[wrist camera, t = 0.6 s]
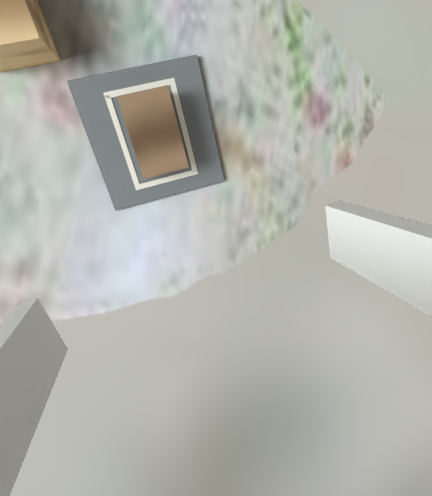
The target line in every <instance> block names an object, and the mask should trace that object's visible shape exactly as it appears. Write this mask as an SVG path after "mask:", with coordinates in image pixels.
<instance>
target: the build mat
mask: <svg viewBox="0 0 432 496" xmlns="http://www.w3.org/2000/svg"><path fill="white" fill-rule="evenodd" d="M67 83H68V85H69V88H70V91H71V93H72V96H73V99H74V101H75V104H76V107H77V109H78V112H79V115H80V117H81V120H82V123H83V125H84V128H85V131H86V133H87V136H88V139H89V141H90V144H91V147H92V149H93V152H94V155H95V157H96V160H97V163H98V165H99V168H100V170H101V173H102V176H103V178H104V181H105V184H106V186H107V189H108V192H109V194H110V197H111V200H112V202H113V205H114V208H115V210H120V209H124V208H127V207H131V206H135V205H138V204H142V203H146V202H149V201H153V200H157V199H160V198H164V197H168V196H171V195H175V194H179V193H182V192H186V191H190V190H193V189H197V188H201V187H204V186H208V185H212V184H215V183H219V182H223V181H224V177H223V173H222V168H221V163H220V159H219V154H218V149H217V145H216V140H215V136H214V131H213V126H212V122H211V117H210V112H209V108H208V103H207V99H206V94H205V89H204V85H203V80H202V75H201V71H200V66H199V62H198V57H197V55H193V56H188V57H183V58H178V59H173V60H168V61H163V62H158V63H153V64H148V65H143V66H138V67H133V68H129V69H124V70H119V71H114V72H109V73H104V74H99V75H94V76H89V77H84V78H79V79H74V80H69V81H67ZM166 85H168V89H169V93H170V97H171V100H172V104H173V108H174V112H175V116H176V120H177V124H178V127H179V131H180V135H181V139H182V143H183V147H184V151H185V155H186V158H187V162H188V166H189V168H185V169H181V170H177V171H173V172H170V173H166V174H162V175H158V176H154V177H150V178H147V179H143V176H142V173H141V170H140V166H139V163H138V160H137V157H136V154H135V151H134V148H133V145H132V142H131V139H130V135H129V132H128V129H127V126H126V123H125V120H124V117H123V114H122V111H121V108H120V104H119V101H118V98H117V96H119V95H124V94H129V93H133V92H138V91H143V90H147V89H152V88H156V87H161V86H166Z"/></svg>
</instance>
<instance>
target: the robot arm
mask: <svg viewBox="0 0 432 496" xmlns="http://www.w3.org/2000/svg"><path fill="white" fill-rule="evenodd" d="M325 207H326V218H327V229H328V239H329V250H330V258H332V259H334V260H335V261H337V262H339V263H341V264H342V265H344V266H346V267H348V268H349V269H351V270H352V271H354V272H356V273H358V274H359V275H361V276H363V277H364V278H366V279H368V280H370V281H371V282H373V283H375V284H376V285H378V286H380V287H382V288H383V289H385V290H387V291H388V292H390V293H392V294H393V295H395V296H397V297H399V298H400V299H402V300H404V301H405V302H407V303H409V304H411V305H412V306H414V307H416V308H418V309H419V310H421V311H423V312H424V313H426V314H428V315H430V316H431V317H432V225H429V224H425V223H422V222H418V221H414V220H410V219H406V218H403V217H399V216H395V215H391V214H387V213H384V212H380V211H376V210H372V209H368V208H365V207H361V206H357V205H353V204H349V203H345V202H342V201H338V202H335V203H332V204H329V205H326V206H325ZM67 350H68V348H67V347H66V345H65V343H64V342H63V340H62V338H61V337H60V335H59V333H58V331H57V330H56V328H55V327H54V325H53V323H52V321H51V320H50V318H49V316H48V314H47V313H46V311H45V309H44V308H43V306H42V304H41V303H40V301H39V299H38V298H36V299H33V300H30V301H27V302H23V303H20V304H18V305H17V306H16V307H15V309H14V310H13V311H12V312H11V313H10V315H9V316H8V317H7V318H6V319H5V321H4V322H3V323H2V324H1V325H0V496H10V493H11V491H12V488H13V486H14V483H15V481H16V478H17V476H18V473H19V471H20V468H21V466H22V463H23V461H24V458H25V456H26V453H27V450H28V448H29V446H30V443H31V440H32V438H33V435H34V433H35V430H36V428H37V425H38V423H39V420H40V418H41V415H42V413H43V410H44V408H45V405H46V402H47V400H48V397H49V395H50V392H51V390H52V387H53V385H54V383H55V380H56V377H57V375H58V372H59V370H60V367H61V365H62V362H63V359H64V357H65V355H66V352H67Z"/></svg>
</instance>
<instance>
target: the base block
mask: <svg viewBox="0 0 432 496" xmlns="http://www.w3.org/2000/svg"><path fill="white" fill-rule="evenodd" d="M117 98H118V101H119V104H120V108H121V111H122V114H123V117H124V120H125V123H126V126H127V129H128V132H129V135H130V139H131V142H132V145H133V148H134V151H135V154H136V157H137V160H138V163H139V166H140V170H141V173H142V176H143V179H147V178H150V177H154V176H158V175H162V174H166V173H170V172H173V171H177V170H181V169H185V168H189V166H188V162H187V158H186V155H185V151H184V147H183V143H182V139H181V135H180V131H179V127H178V124H177V120H176V116H175V112H174V108H173V104H172V100H171V97H170V93H169V89H168V85H166V86H161V87H156V88H152V89H147V90H143V91H138V92H133V93H129V94H124V95H119V96H117Z"/></svg>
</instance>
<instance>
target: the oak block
mask: <svg viewBox="0 0 432 496" xmlns="http://www.w3.org/2000/svg"><path fill="white" fill-rule="evenodd" d="M56 61H60V58H59V56H58V53H57V50H56V48H55V45H54V42H53V40H52V37H51V34H50V31H49V29H48V26H47V23H46V21H45V18H44V15H43V13H42V10H41V7H40V5H39V2H38V0H0V72H4V71H9V70H14V69H20V68H25V67H30V66H35V65H40V64H46V63H51V62H56Z"/></svg>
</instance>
